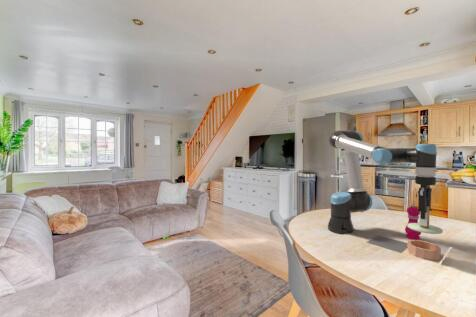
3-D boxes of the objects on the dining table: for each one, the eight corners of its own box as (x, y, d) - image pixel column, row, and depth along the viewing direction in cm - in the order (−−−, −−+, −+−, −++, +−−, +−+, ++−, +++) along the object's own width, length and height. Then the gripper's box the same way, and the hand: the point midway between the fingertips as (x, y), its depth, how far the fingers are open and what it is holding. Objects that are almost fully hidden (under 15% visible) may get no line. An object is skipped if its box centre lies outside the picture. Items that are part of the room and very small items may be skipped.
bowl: (404, 254, 108) (404, 244, 108) (411, 247, 116) (412, 238, 116) (436, 264, 99) (437, 253, 99) (442, 255, 106) (442, 245, 106)
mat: (366, 243, 121) (366, 242, 121) (377, 236, 131) (377, 235, 131) (401, 254, 109) (401, 252, 109) (411, 245, 118) (411, 244, 118)
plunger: (403, 228, 108) (404, 205, 107) (411, 222, 116) (412, 201, 115) (439, 236, 98) (439, 211, 97) (445, 229, 106) (445, 206, 105)
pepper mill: (414, 242, 122) (415, 206, 122) (401, 237, 129) (402, 203, 128) (424, 240, 124) (425, 205, 123) (411, 235, 131) (411, 202, 130)
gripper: (431, 178, 98) (430, 230, 99) (439, 175, 108) (438, 222, 109) (410, 176, 104) (409, 226, 105) (420, 174, 114) (419, 219, 115)
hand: (424, 224), depth 107 cm, fingers closed on plunger, 3 cm apart
